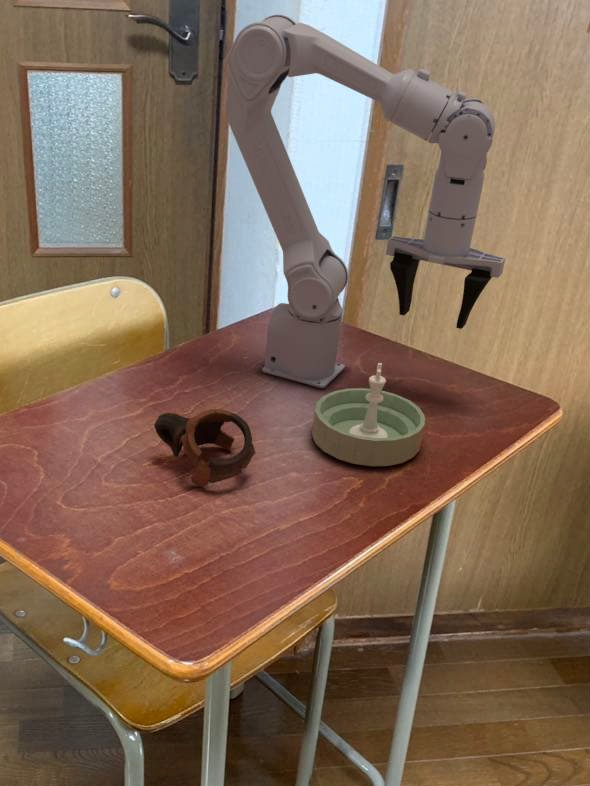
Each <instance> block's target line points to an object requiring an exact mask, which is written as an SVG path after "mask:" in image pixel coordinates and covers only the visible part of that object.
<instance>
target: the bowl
mask: <svg viewBox="0 0 590 786" xmlns="http://www.w3.org/2000/svg"><path fill="white" fill-rule="evenodd" d="M368 393H371V390H370V388H365V387H357V388H356V387H355V388H353V387H351V388H344V389H339V390H334V391H332V392H331V391H330V392H329V393H327V394H325V395H324V394H323V396H322V397H320V399H318V400H317V402H316V403H315V407H314V415H313V422H312V432H311V436H312V439H313V442H314V443H315V445H316V446H317V447H319V448H320V449H321V451H323V452H324V453H326V454H328V455H330V456H331V457H334V458H336V459H337V460H340V461H342V462H347V463H350V464H354V465H360V466H367V467H390V466H394V465H400V464H404V463H405V462H407V461H409V460H412V459H413V458H414V457H416V455H417V454H418V452H419V451H420V450H421V445H422V440H423V436H424V432H425V427H426V415H425V414H424V413H423V411H422V409H421V408H420V407H419V406H418V405H417V404H415V403H414V402H413V401H412V400H409V399H408V398H405V397H403V396H401V395H399V394H396V393H393V392H389V391H385V390H383V389H382V390H381V392H380V394H381V395H382V396H383V401H382V402H378V407H377V425H378V426H379V427H380V428H382V429H384V430H385V431H386V432H387V434H388V438H371V437H363V436H357V435H354V434H351V433H349V430H350V429H351V428H352V427H353V426H356V425H359V424H362V423H363V422H364V420H365V416H366V413H367V410H368V406H369V403H370V401H368V400H367V399H366V398H365V397H366V395H367V394H368Z"/></svg>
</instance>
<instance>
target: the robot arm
mask: <svg viewBox="0 0 590 786" xmlns="http://www.w3.org/2000/svg"><path fill="white" fill-rule="evenodd" d="M225 63H226V68H227V72H228V73H227V87H226V100H225V101H226V103H225V116H226V121H227V123H228V125H229V127H230V130H231V132H232V134H233V137H234V140H235V142H236V144H237V146H238V149H239V151H240V154H241V156H242V158H243V160H244V163H245V165H246V168H247V170H248V172H249V175H250V176H251V179H252V181H253V184H254V187H255V189H256V191H257V193H258V196H259V199H260V200H261V203H262V205H263V208H264V211H265V212H266V215H267V218H268V219H269V222H270V223H271V224H270V225H271V226H272V227H271V228H272V229H273V231H274V234H275V237H276V238H277V241H278V243H279V245H280V248H281V250H282V264H283V265H282V266H283V267H282V268H283V275H284V277H285V280H286V283H287V301H288V302H287V303H286V302H280V303H278V304H277V305H276V306H275V308H274V309H273V310H272V313H271V315H270V317H269V322H268V326H267V332H266V343H265V345H266V346H265V357H264V367H261V371H262V373H265V374H268V375H273V376H276V377H279V378H283V379H286V380H291V381H293V382H297V383H301V384H305V385H307V386H311V387H315V388H318V389H325V388H326V387H327V386H328V385H329V384H330V383H331V382H332V381H333V380H334V379H336V377H337V376H339V375H340V374H341V373H342V372H343V371H344V370H345V369H346V365H345V364H342V363H339V362H337V355H338V350H339V349H338V348H339V341H340V333H341V327H342V320H343V319H342V318H343V310H344V309H343V308H342V305H341V302H340V300H339V299H340V298H339V297H340V295H341V293H342V292H343V291H344V290H345V288H346V287H347V284H348V282H349V281H348V280H349V272H348V268H347V265H346V263H345V261H343V259H342V258H340V256H338V255H337V254H336V253H335V251H334V250H333V249H332V246H331V244H330V242H329V240H328V239H327V238H326V237H325V236H324V235H323V234H322V233H321V232H320V231H319V229H318V226H317V224H316V221H315V218H314V217H313V213H312V212H311V211H312V210H311V208H310V206H309V204H308V201H307V199H306V196H305V193H304V191H303V189H302V187H301V184H300V182H299V179H298V177H297V174H296V172H295V169H294V166H293V163H292V161H291V159H290V157H289V153H288V151H287V149H286V146H285V144H284V142H283V139H282V136H281V135H280V131H279V129H278V126H277V124H276V122H275V120H274V117H273V114H272V109H273V106H274V104H275V103H276V102H275V101H276V99H277V96H278V94H279V91H280V90H281V86H282V84H283V83H284V82H285V80H286V79H287V77H288V78H294V77H301V76H307V75H313V74H318V75H321V76H323V77H324V78H327V79H329V80H331V81H333V82H335V83H338V84H340V85H342V86H344V87H346V88H348V89H350V90H352V91H355V92H357V93H359V94H361V95H363V96H365V97H367V98H369V99H372V100H373V101H374V102H375V101H376V102H377V103H379V106H380V108H381V111H382V115H383V119H384V120H386V121H388V122H390V123H391V124H393V125H396V126H397V127H399V128H401V129H403V130H405V131H407V132H409V133H410V134H412V135H414V136H416V137H417V138H419V139H422V140H424V141H425V142H427V143H430V144H438V146H439V150H440V156H439V162H438V167H437V168H436V170H435V174H434V179H433V183H432V184H433V185H432V190H431V195H430V202H429V208H428V213H427V219H426V225H425V230H424V236H423V238H414V237H413V238H412V237H403V236H395V235H393V236H391V237H390V238H389V239H387V243H386V250H385V255H386V256H389V257H390V256H391V257H392V260H391V261H390V263H389V268H390V271H391V274H392V277H393V280H394V282H395V286H396V291H397V296H398V297H397V298H398V307H399V308H398V310H399V313H398V314H399V315H400V316H406V315H407V314H408V313H409V312H410V309H411V305H412V299H413V293H414V292H413V291H414V284H415V280H416V275H417V272H418V268H419V265H420V261H423V262H429V263H433V264H436V265H437V264H438V265H443V266H447V267H451V268H457V269H462V270H467V271H471V272H469V273H468V274H467V275H466V276H465V277H464V282H463V293H462V300H461V306H460V310H459V313H458V316H457V320H456V329H460V330H462V329H463V328H464V327H465V326H466V325H467V321H468V319H469V317H470V314H471V312H472V310H473V308H474V306H475V303H476V302H477V300H478V299H479V297H480V296H481V294H482V292H483V291H484V289H485V288H486V287H487V285H488V284H489V282H490V281H491V280H492V278H497V279H499V278H500V277H501V276H502V274H503V272H504V267H505V264H506V257H503V256H498V255H494V254H491V253H487V252H485V251H481V250H479V249H476V248H473V247H471V244H472V240H473V236H474V229H475V225H476V220H477V215H478V210H479V205H480V200H481V196H482V191H483V186H484V182H485V181H484V180H485V173H484V171H485V169H486V167H487V163H488V158H487V154H488V153H489V151H490V149H491V147H492V145H493V142H494V139H493V137H494V134H495V130H496V122H495V116H494V114H493V112H492V110H491V109H490V107H488V105H486V104H484V102H482V100H481V99H479V98H467V96H468V94H467V93H466V92H464V91H462V90H459V91H458V92H457V93H456V92H453V91H452V90H451V89H448V88H447V87H445V86H443V85H441V84H439V83H437V82H435V81H434V80H432V79H430V76H431V72H430V71H428V70H426V69H425V68H423V67H421V68H420V69H419V70H418V71H415V70H413V69H411V68H408V69H405V70H402V71H400V72H397V73H392V72H390V71H389V70H387V69H386V68H384V67H382V66H380V65H378V64H377V63H375V62H374V61H372V60H370V59H369V58H367V57H365V56H363V55H362V54H361V53H358V52H357V51H355V50H353V49H352V48H349V47H348V46H347V45H345V44H343V43H341V42H340V41H338V40H336V39H335V38H333V37H331V36H330V35H328V34H327V33H324V32H323V31H320V30H319V29H317V28H315V27H313V26H311V25H310V24H306V23H304V22H303V23H302V22H296V21H295V20H294V19H292V18H291V17H289V16H287V15H284V14H273V15H270V16H267V17H265V18H264V19H263V20H260V21H256V22H251V23H249V24H247V25H245V26H244V27H243V28H242V29H241V30H240V31H239V32H238V33H237V35H236V37H235V39H234V41H233V43H232V46H231V48H230V50H229V52H228V55H227V57H226V60H225Z"/></svg>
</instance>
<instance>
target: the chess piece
mask: <svg viewBox="0 0 590 786" xmlns="http://www.w3.org/2000/svg"><path fill="white" fill-rule="evenodd" d="M382 366H383V362H377V365H376V374H374V375H371V376H370V377H369V378H368V384H369V389H370V390H371V393H368V394H367V395H366V397H365V398H366V399H367V400H368V401H370V403H369V406H368V410H367V413H366V416H365V420H364V422H363V423H362V424H359V425H356V426H353V427H352V428H351V429H350V430H349V433H351V434H354V435H357V436H363V437H371V438H388V434H387V432H386V431H385V430H384V429H382V428H380V427H379V426H378V425H377V407H378V402H382V401H383V396H382V395H381V394H380V392H381V390H382V391H383V388H384V386H385V384H386V383H387V380H386V378H385V377H384V376H382Z"/></svg>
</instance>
